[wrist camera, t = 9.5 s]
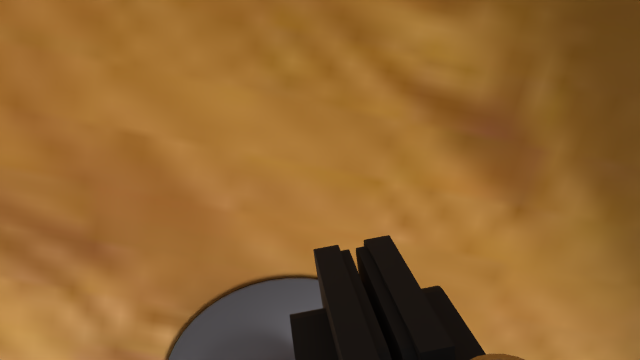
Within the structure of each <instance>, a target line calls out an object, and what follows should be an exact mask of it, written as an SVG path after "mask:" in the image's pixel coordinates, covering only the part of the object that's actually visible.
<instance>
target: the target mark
mask: <svg viewBox="0 0 640 360" xmlns="http://www.w3.org/2000/svg"><path fill="white" fill-rule="evenodd" d="M321 308H323V306H322V300H321V294H320V288H319V282H318V279H313V278H282V279H274V280H268V281H264V282H260V283H256V284H252V285H249V286H247V287H244V288H241V289H239V290H236V291H234V292H232V293H230V294H228V295H226V296H224V297H222V298H220V299H219V300H218V301H216V302H215V303H213V304H212V305H210V306H209V307H207V308H206V309H205V310H204V311H203V312H201V313H200V314H199V315H198V316H197V317H196V318H195V319H194V320H193V321H192V322H191V323H190V324H189V326H188V327H187V328H186V329H185V330H184V331H183V333H182V334H181V336H180V338H179V339H178V341H177V342H176V344H175V346H174V348H173V350H172V352H171V355H170V357H169V360H295V355H294V347H293V339H292V332H291V324H290V314H295V313H300V312H305V311H311V310H316V309H321Z"/></svg>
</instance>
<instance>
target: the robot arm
mask: <svg viewBox="0 0 640 360" xmlns="http://www.w3.org/2000/svg"><path fill="white" fill-rule="evenodd" d="M356 256H357V264H358V271H359V273H358V271H357V268H356V266H355V263H354V261H353V258H352V256H351V253H350V251H349V250H343V251H340V248H339V246H338V245H334V246H329V247H324V248H318V249H314V257H315V263H316V269H317V276H318V282H319V288H320V294H321V300H322V306H323V308H321V309H316V310H311V311H305V312H300V313H295V314H290V324H291V332H292V339H293V347H294V355H295V360H524V359H522V358H519V357H516V356H511V355H506V354H485V352H484V351H483V349H482V348H481V346H480V345H479V343H478V342H477V340H476V339H475V337H474V336H473V334H472V333H471V331H470V330H469V328H468V327H467V325H466V324H465V322H464V321H463V319H462V318H461V316H460V315H459V313H458V312H457V310H456V309H455V307H454V306H453V304H452V303H451V301H450V300H449V298H448V297H447V295H446V294H445V292H444V291H443V289H442V288H441V287H440V286H433V287H428V288H423V289H421V288H420V286H419V285H418V283H417V281H416V280H415V278H414V276H413V274H412V273H411V271H410V269H409V268H408V266H407V264H406V263H405V261H404V259H403V258H402V256H401V254H400V253H399V251H398V249H397V247H396V246H395V244H394V242H393V241H392V239H391V237H390V236H389V235H388V236H382V237H377V238H372V239H366V240H364V247H359V248H356Z"/></svg>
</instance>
